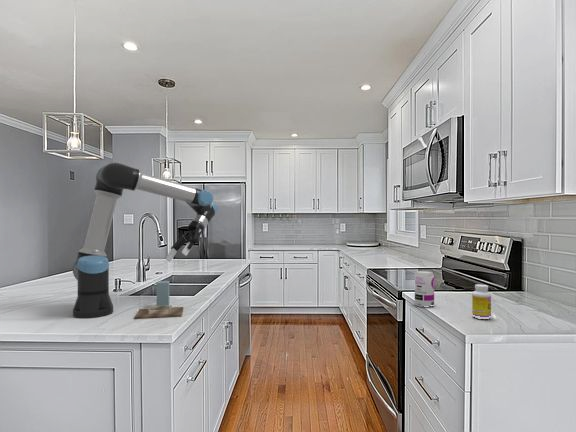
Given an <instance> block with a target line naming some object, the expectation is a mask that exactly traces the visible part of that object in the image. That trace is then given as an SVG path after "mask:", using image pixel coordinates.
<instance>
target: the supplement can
mask: <svg viewBox="0 0 576 432" xmlns="http://www.w3.org/2000/svg"><path fill="white" fill-rule="evenodd" d="M414 304H415V305H416V307H419V308H424V307H423V306H430V305H434V306H435V274H434V272H433V271H429V270H418V271H415V274H414Z"/></svg>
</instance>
